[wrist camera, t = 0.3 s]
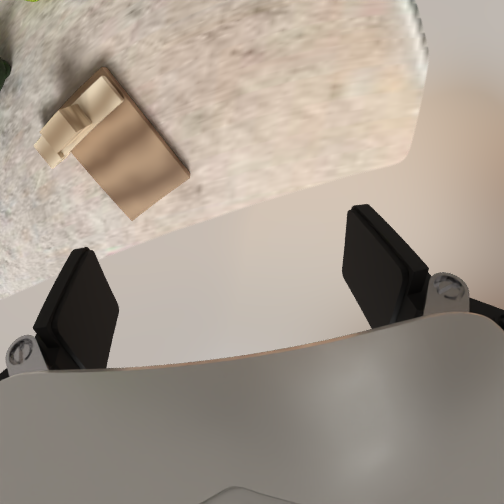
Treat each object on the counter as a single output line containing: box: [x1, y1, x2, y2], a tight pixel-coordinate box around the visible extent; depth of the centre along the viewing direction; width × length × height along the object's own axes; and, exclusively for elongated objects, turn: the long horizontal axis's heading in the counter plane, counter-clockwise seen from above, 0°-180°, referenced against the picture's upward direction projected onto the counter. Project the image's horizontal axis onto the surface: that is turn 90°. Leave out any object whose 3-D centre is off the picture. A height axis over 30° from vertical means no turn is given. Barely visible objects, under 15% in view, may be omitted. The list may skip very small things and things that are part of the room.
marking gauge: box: [34, 76, 124, 169], centre depth 32 cm, size 5×14×9 cm, turn 122°
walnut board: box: [53, 67, 190, 221], centre depth 39 cm, size 22×12×2 cm, turn 32°
